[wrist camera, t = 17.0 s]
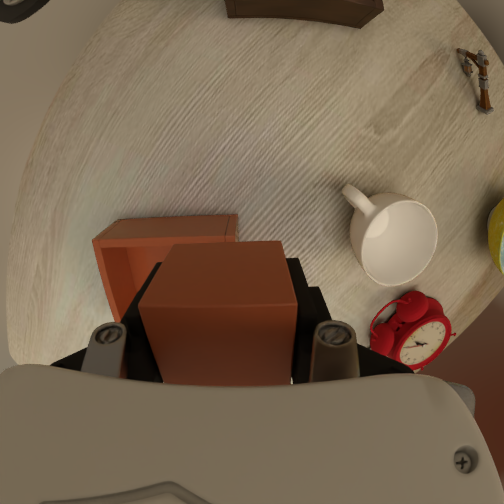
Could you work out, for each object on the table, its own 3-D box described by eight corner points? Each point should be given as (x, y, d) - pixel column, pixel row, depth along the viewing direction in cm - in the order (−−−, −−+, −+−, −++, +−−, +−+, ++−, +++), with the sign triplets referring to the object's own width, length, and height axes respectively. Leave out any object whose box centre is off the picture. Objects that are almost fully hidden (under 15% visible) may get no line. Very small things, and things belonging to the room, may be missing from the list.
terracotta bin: (137, 311, 31) (122, 341, 26) (117, 219, 26) (91, 239, 21) (241, 313, 31) (240, 348, 26) (238, 214, 26) (235, 235, 21)
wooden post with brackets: (460, 40, 16) (490, 51, 13) (469, 96, 22) (495, 111, 19) (452, 43, 17) (482, 53, 13) (462, 100, 22) (488, 115, 19)
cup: (368, 267, 29) (393, 301, 22) (305, 208, 26) (322, 233, 20) (414, 217, 26) (449, 241, 20) (358, 150, 23) (391, 158, 17)
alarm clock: (418, 380, 32) (368, 375, 26) (398, 352, 38) (344, 337, 31) (466, 329, 29) (435, 304, 23) (442, 303, 34) (401, 271, 28)
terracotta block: (188, 326, 13) (169, 398, 9) (173, 243, 11) (136, 305, 7) (279, 325, 13) (289, 399, 9) (281, 239, 11) (298, 303, 7)
